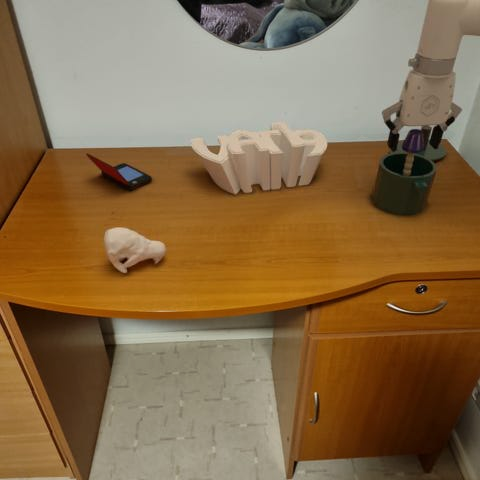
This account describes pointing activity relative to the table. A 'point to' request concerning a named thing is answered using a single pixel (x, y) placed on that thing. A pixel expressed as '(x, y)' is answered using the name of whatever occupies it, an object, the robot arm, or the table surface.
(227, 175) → the wavy white extrusion
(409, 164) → the toy lamp
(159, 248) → the beige lumpy figure
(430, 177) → the pot
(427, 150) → the lid
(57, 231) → the table surface
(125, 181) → the handheld console
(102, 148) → the table surface
